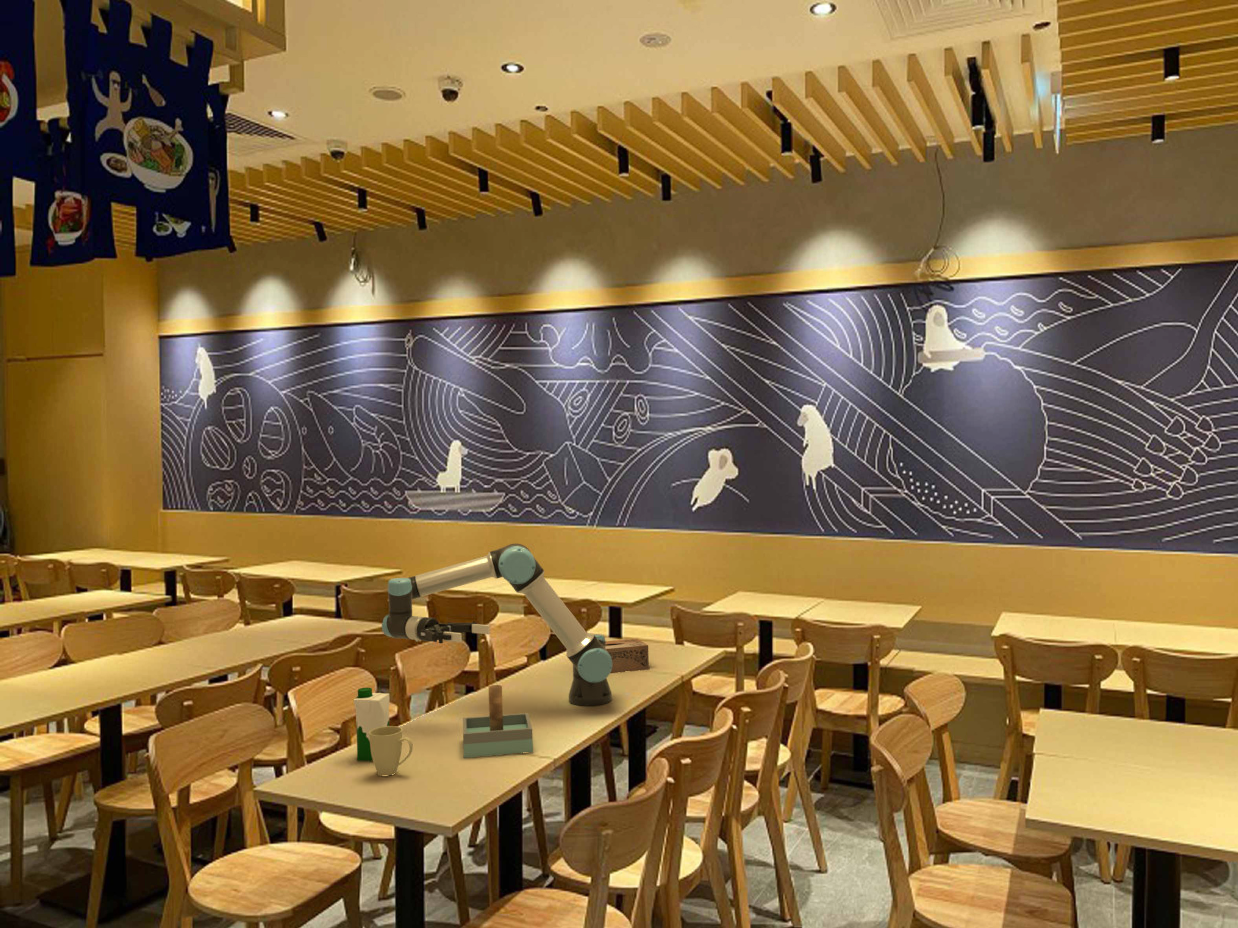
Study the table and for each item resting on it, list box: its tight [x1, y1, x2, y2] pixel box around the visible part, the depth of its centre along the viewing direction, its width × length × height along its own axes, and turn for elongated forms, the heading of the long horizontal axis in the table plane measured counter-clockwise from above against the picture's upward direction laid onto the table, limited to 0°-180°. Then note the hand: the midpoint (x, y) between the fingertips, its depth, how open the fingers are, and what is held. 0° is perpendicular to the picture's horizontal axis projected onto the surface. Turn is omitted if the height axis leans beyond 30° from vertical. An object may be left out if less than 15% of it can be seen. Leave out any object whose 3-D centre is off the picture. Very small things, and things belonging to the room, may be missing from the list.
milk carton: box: [353, 687, 390, 762], centre depth 281 cm, size 9×9×20 cm
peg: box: [488, 684, 504, 731], centre depth 288 cm, size 4×4×18 cm
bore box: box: [462, 712, 534, 759], centre depth 288 cm, size 20×17×7 cm
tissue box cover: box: [605, 637, 650, 674], centre depth 384 cm, size 26×14×10 cm, turn 106°
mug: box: [369, 725, 414, 776], centre depth 266 cm, size 11×10×12 cm
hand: (475, 633), depth 298 cm, fingers open, 13 cm apart
